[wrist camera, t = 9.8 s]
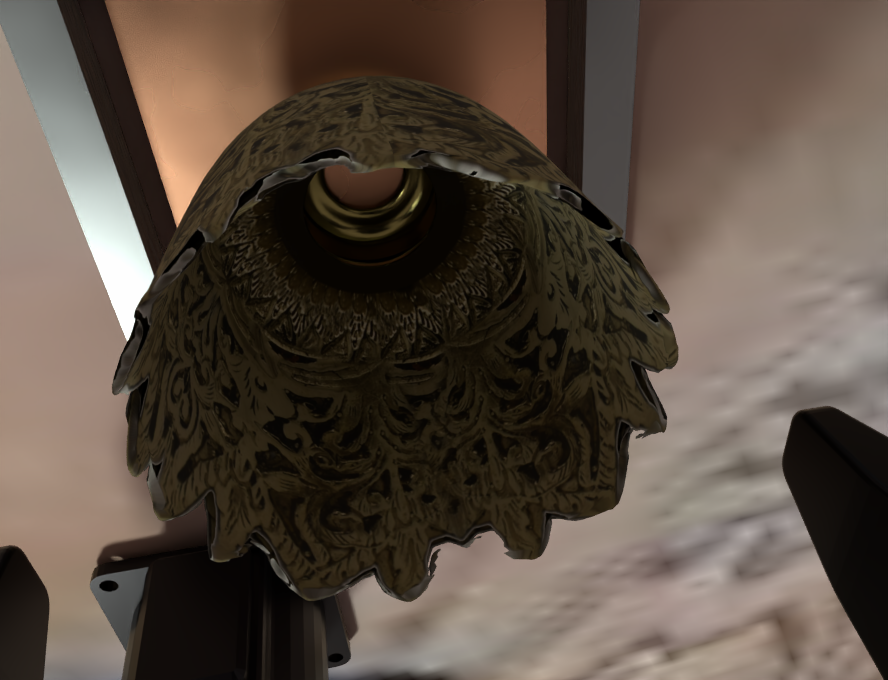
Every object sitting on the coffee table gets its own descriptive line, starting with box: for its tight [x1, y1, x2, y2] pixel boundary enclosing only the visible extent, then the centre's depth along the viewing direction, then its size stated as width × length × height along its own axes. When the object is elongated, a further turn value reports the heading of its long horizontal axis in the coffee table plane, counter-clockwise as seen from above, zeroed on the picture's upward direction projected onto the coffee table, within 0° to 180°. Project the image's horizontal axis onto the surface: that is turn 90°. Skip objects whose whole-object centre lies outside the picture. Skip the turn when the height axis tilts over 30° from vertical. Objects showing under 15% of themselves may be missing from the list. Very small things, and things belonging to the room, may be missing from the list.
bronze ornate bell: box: [112, 76, 678, 602], centre depth 14 cm, size 8×7×8 cm
